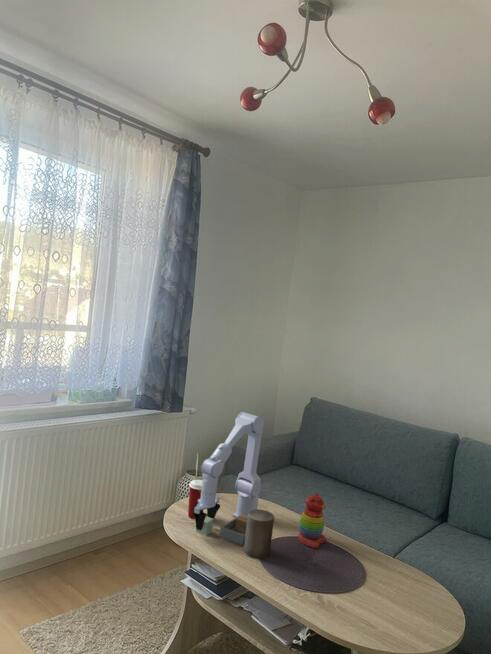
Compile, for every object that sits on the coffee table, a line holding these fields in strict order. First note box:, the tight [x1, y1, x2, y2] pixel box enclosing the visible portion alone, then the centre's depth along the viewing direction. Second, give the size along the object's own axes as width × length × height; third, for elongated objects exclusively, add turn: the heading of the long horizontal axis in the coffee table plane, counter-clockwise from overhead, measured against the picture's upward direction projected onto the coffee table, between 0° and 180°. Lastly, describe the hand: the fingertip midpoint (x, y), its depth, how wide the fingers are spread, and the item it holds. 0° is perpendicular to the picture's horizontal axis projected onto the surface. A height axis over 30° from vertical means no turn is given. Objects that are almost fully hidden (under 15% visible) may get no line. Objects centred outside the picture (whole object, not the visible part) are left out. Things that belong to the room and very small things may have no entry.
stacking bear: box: [297, 493, 327, 549], centre depth 187 cm, size 11×10×18 cm
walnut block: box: [235, 515, 247, 534], centre depth 187 cm, size 4×4×5 cm
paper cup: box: [187, 479, 203, 520], centre depth 196 cm, size 8×8×14 cm
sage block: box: [195, 516, 214, 536], centre depth 184 cm, size 4×4×5 cm
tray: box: [219, 516, 246, 548], centre depth 184 cm, size 14×10×4 cm
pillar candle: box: [243, 508, 275, 559], centre depth 174 cm, size 10×10×15 cm
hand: (204, 525), depth 184 cm, fingers open, 7 cm apart
